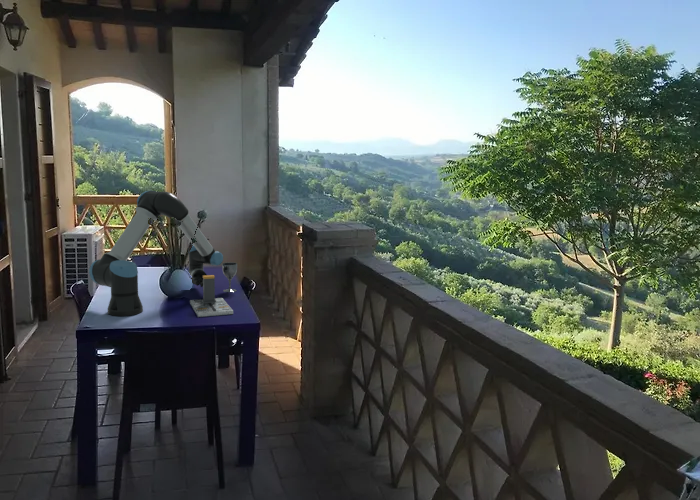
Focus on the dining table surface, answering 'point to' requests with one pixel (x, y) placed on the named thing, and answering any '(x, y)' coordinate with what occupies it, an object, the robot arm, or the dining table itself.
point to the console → (211, 308)
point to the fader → (209, 289)
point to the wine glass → (229, 273)
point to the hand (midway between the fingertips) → (206, 285)
